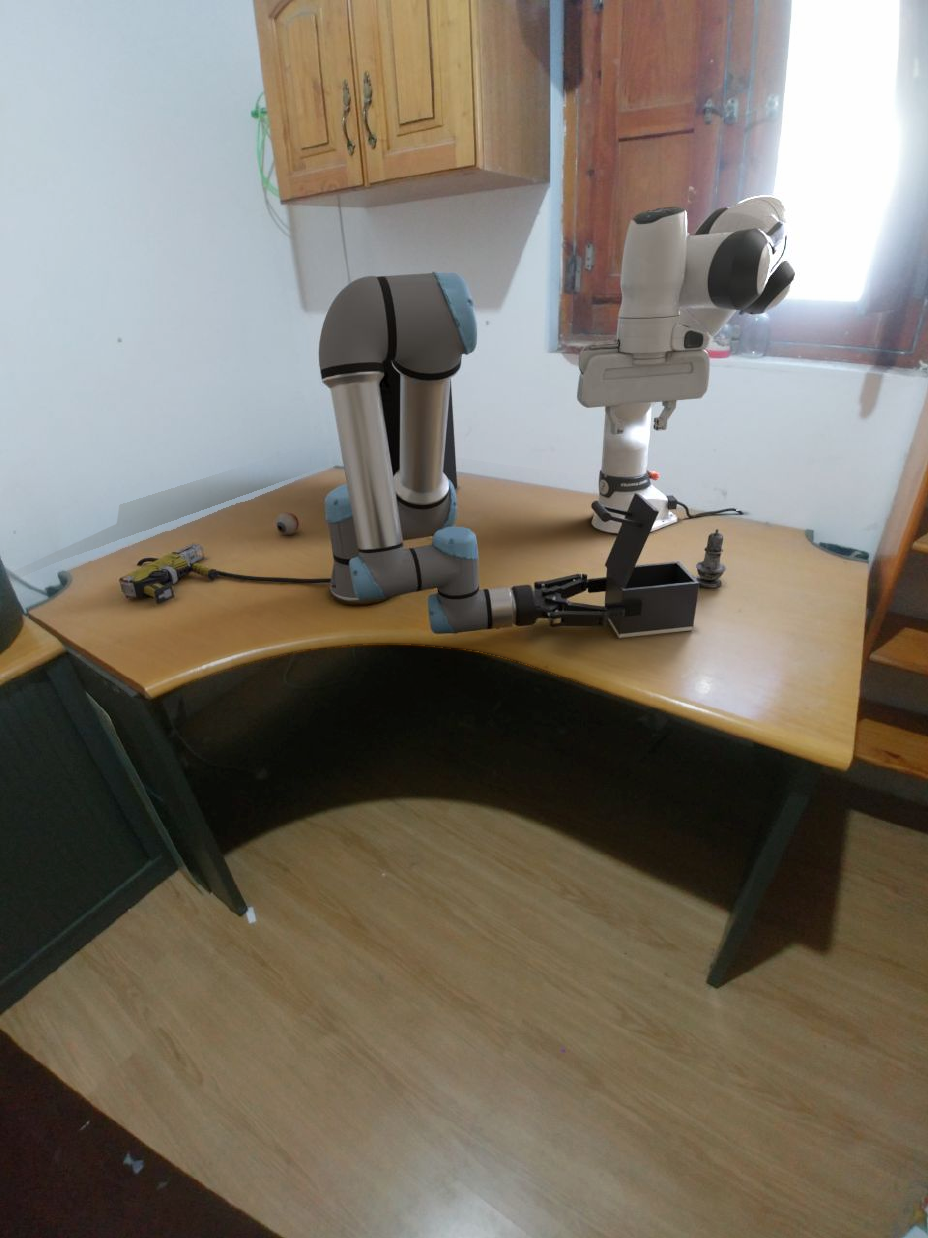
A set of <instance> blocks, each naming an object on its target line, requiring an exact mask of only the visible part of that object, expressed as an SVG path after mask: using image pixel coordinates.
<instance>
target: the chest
mask: <svg viewBox="0 0 928 1238" xmlns="http://www.w3.org/2000/svg"><path fill="white" fill-rule="evenodd" d="M605 577H606V590H605V592H604V605H603V606H604V607H605V604H606V603H616V602H626V601H636V600H641V601H642V607H641V615H637V616H628V617H620V618H610V619H607V621H608V623H609V624H610V625H611V627H612V629H613V631H614V632H615V635H617V637H618V639H622V638H629V637H631V638H632V637H638V636H639V637H641V636H650V635H659V634H667V633H679V632H686V631H694V623H695V616H696V611H697V605H698V597H699V591H700V585H699V584H700V583H699V582H698V581H697V580H696V577H694V575H693V574H691V573H690V571H689V570H687V568H686V567H685V566H683V564H682V563H681V562H680V561H679V560H678V561H667V562H657V563H648V564H639V565H638V564H636V565H635V567H634V570H633V572H632V574H631V576H630V579H629V581H628V583H627V585H626V588H621V587H620V586H619V585H618V583H617V582H616V581H615V579H614V578H613V576H612V575H611V573H610V572H609V571H608V569H607V568H606V575H605Z"/></svg>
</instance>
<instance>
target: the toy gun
mask: <svg viewBox="0 0 928 1238" xmlns="http://www.w3.org/2000/svg"><path fill="white" fill-rule="evenodd" d="M200 551H201V552H202V554H198V553H199V552H200ZM203 559H205V553H204V546H203V545H201V544H197V543H194V542H192V543H191V544H189V545H187V546H185V547H183V548H181V549H179V550H177V551H173V552H171V553H168V554H167V555H164V556H163V557H160V558H158V560H156V561H154V562H149V563H148V564H146V565H143V566H141V567H139V568H137V569H135V570H132V571H131V572H129V573H126V574H124V575H122V576H121V577H119V579H118V582H119V585H120V589H121V590H120V591H121V592H122V594H123V595H124V596H125V598H129V599H133V598H136V599H137V598H138V599H141V598H145V597H149V596H150V597H153V598H154V599H155V602H156V604H157V605H160V604H162V603H164V602H166V601H168V600H171V599H174V598H175V594H174V590H173V585H175V584H177V583H178V580H179V579H180V578H182V577H184V576H185V577H186V576H187V575H190V573H194V574H198V575H200V576H203V577H204V578H208V579H209V580H211V581H213V580H216V579H218V577H219V575H218V571H219V570H217V569H216V568H211V567H208V566H206V565H203V564H200V563H198V562H199V561H200V560H203ZM189 564H193V565H192V566H190V565H189Z"/></svg>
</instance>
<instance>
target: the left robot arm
mask: <svg viewBox="0 0 928 1238" xmlns="http://www.w3.org/2000/svg"><path fill="white" fill-rule="evenodd" d="M318 342H319V343H318V364H319V365H318V366H319V372H320V377H321V382H322V384H323V385H324V386H326V387H327V388H328V389H329V390H330V395H331V401H332V407H333V413H334V418H335V423H336V430H337V435H338V441H339V447H340V453H341V459H342V464H343V469H344V476H345V480H346V483H344V484H342V485H339V486H337V487H336V488H334V489H332V490H331V491H329V492H328V494H327V495H326V497H325V499H324V509H325V516H324V517H325V518H324V519H325V521H326V522H327V528H328V534H329V539H330V546H331V552H332V557H333V566H332V571H331V577H329V578H326V577H325V578H324V577H321V578H299V577H297V578H295V577H278V576H277V577H275V576H274V577H273V576H254V575H243V574H236V573H232V572H225V571H221V570H217V571H218V576H221V577H226V578H230V579H231V578H232V579H237V580H244V581H253V582H254V581H255V582H269V583H270V582H272V583H273V582H274V583H296V584H329V590H330V596H331V598H332V599H333V600H334V601H336V602H337V603H340V604H342V605H347V606H357V607H359V606H370V605H375V604H379V603H382V602H385V601H387V600H389V599H391V598H393V597H396V596H401V595H407V594H410V593H411V594H412V593H417V592H422V591H427V590H433V589H436V590H437V591H436V592H435V593H431V594H429V595H428V596H427V607H428V609H427V611H428V618H429V627H430V631H431V632H432V633H433V634H436V635H450V634H454V635H457V634H460V633H461V634H462V633H469V632H476V631H482V630H483V631H484V630H493V629H495V630H499V629H504V628H505V629H506V628H512V627H513V626H516V627H517V628H519V627H527V626H534V625H535V624H536V622H537V620H538V619H545V620H548V621H549V622H548V623H549V624H548V625H549V627H550V628H559V627H586V628H587V627H588V628H589V627H590V628H605V627H606V626H607V621H608V619H610V618H620V617H628V616H637V615H641V607H642V601H641V600H636V601H626V602H616V603H606V604H605V603H604V605H597V604H587V603H580V602H573V601H570V599H569V598H572V597H575V596H577V595H579V594H582V593H584V592H585V591H587V593H588V594H594V593H602V592H604V593H605V590H606V576H603V577H594V578H588V574H587V573H582V574H581V573H575V574H570V575H566V576H562V577H557V578H554V579H553V578H552V579H548V580H540V581H535V582H534V583H533V584H534V585H533V586H532V585H531V584H522V585H513V586H512V587H511V588H510V587H509V586H499V587H490V588H480V580H479V579H480V573H479V572H480V569H479V557H480V554H479V550H478V549H479V547H478V541H477V536H476V533H475V532H474V531H473V530H472V529H470V528H468V527H465V526H456V525H455V523H456V520H457V515H458V507H457V503H458V500H457V499H458V498H457V493H456V489H454V486H453V484H452V482H451V481H450V480H449V479H448V478H447V476H446V475H445V474H444V473H443V464H444V452H445V440H446V428H447V417H448V405H449V393H450V381H451V382H452V378H453V377H454V376H456V375H457V374H458V373H459V371H460V370H461V368H462V367H461V365H462V359H463V355H466V356H469V355H470V354H471V353H472V354H473V352H474V351H475V349H476V348H477V343H478V324H477V316H476V310H475V305H474V301H473V298H472V294H471V291H470V288H469V286H468V284H467V282H466V281H465V279H464V278H463V277H462V276H461V275H460V274H458V273H456V272H437V271H432V272H428V273H412V274H411V273H410V274H395V275H380V276H378V275H377V276H375V275H368V276H363V277H359V278H356V279H354V280H353V281H351V282H350V283H348V284H347V285H346V286H345V287H343V288H342V289H341V291H339V293H338V294H337V295H336V296H335V298H334V299H333V301H332V302H331V304H330V306H329V308H328V310H327V312H326V315H325V317H324V320H323V323H322V327H321V331H320V336H319V341H318ZM383 361H392V365H393V367H394V368H395V369H396V371H397V372H399V373H400V374H401V376H400V470H398V471H397V472H396V473H395V475H394V477H393V473H392V466H391V459H390V453H389V446H388V440H387V433H386V427H385V420H384V413H383V407H382V400H381V394H380V387H379V383H380V381H381V379H382V378H383V376H384V370H383ZM429 537H432V543H431V544H427V545H421V546H416V547H410V548H409V547H408V548H405V547H404V541H410V540H415V539H422V538H423V539H424V538H429ZM158 559H159V558H157V557H145V558H142V559H140V560H139V561H138V562H137V563H136V566H138V567H140V566H142V565H143V564H145V563H148V562H149V563H152V562H154V561H156V560H158ZM193 564H194V563H193ZM193 564H189V565H190V566H192V565H193ZM604 606H605V607H604Z"/></svg>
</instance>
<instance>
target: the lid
mask: <svg viewBox="0 0 928 1238" xmlns="http://www.w3.org/2000/svg"><path fill="white" fill-rule="evenodd" d="M590 508H591V509H592V511H593V512H594V514H595V513H596V514H597V515H598V516H599V518H600V519H601V520H602V521H603V522H608V521H609V520H612V521H616V522H620V523H622V525H621V527H620V530H619V532H618V533H616V534H617V535H616V537H615V540H614V542H613V545H612V547H611V549H610V551H609V554H608V556H607V558H606V561H605V563H604V566H605V568H606V570H607V569H608V571H609V572H610V573H611V575H612V576H613V578H614V579H615V581H616V582H617V583H618V585H619V586H620V587H621V588H626V585H627V583H628V581H629V579H630V576H631V574H632V572H633V570H634V567H635V566H637V563H638V561H639V558H640V556H641V554H642V552H643V549H644V548H645V546H646V545H645V544H646V543H647V540H648V538H649V536H650V533H651V532H650V531H651V529H652V527H653V525H654V522H655V520H656V518H657V516H658V513H659V511H658V510H657V509H656V508H655V507H654V506H652V505H651V504H650V503H649V502H648V501H647V500H646V499H645V498H644V497H643V496H642V495H640V494H639V493H635V494H634V496H633V499H632V501H631V503H630V506H629V508H628V510H627V511H624V510H620V509H616V508H612V507H608V506H604V505H602V504H601V503H600V502H599V501H598V500H594V501H592V502H591V505H590ZM608 511H609V512H613V513H617V514H621V515H625V518H620V517H616V516H612V515H611V514H610V513H609V512H608Z"/></svg>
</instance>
